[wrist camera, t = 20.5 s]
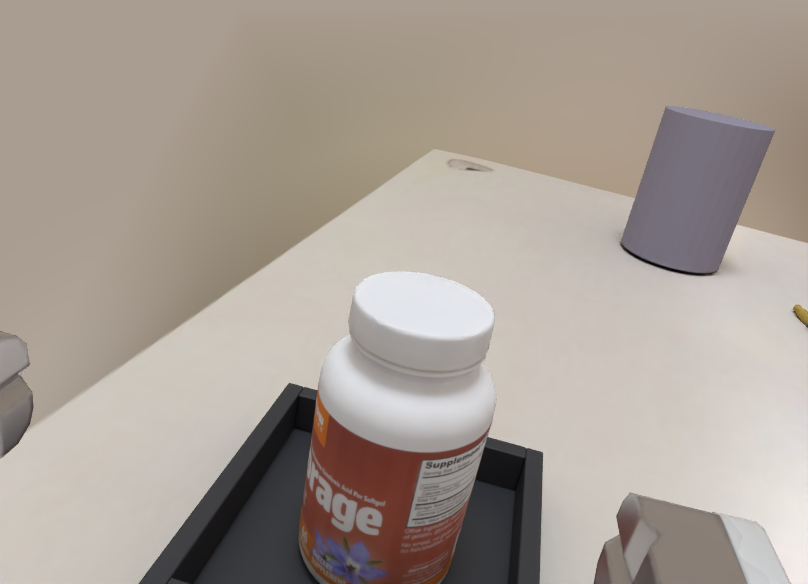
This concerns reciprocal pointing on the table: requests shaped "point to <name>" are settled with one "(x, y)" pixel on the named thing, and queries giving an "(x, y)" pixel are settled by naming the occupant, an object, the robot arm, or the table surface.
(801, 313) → the dagger
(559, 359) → the table surface
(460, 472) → the pill bottle
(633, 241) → the container
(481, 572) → the dark shallow tray
